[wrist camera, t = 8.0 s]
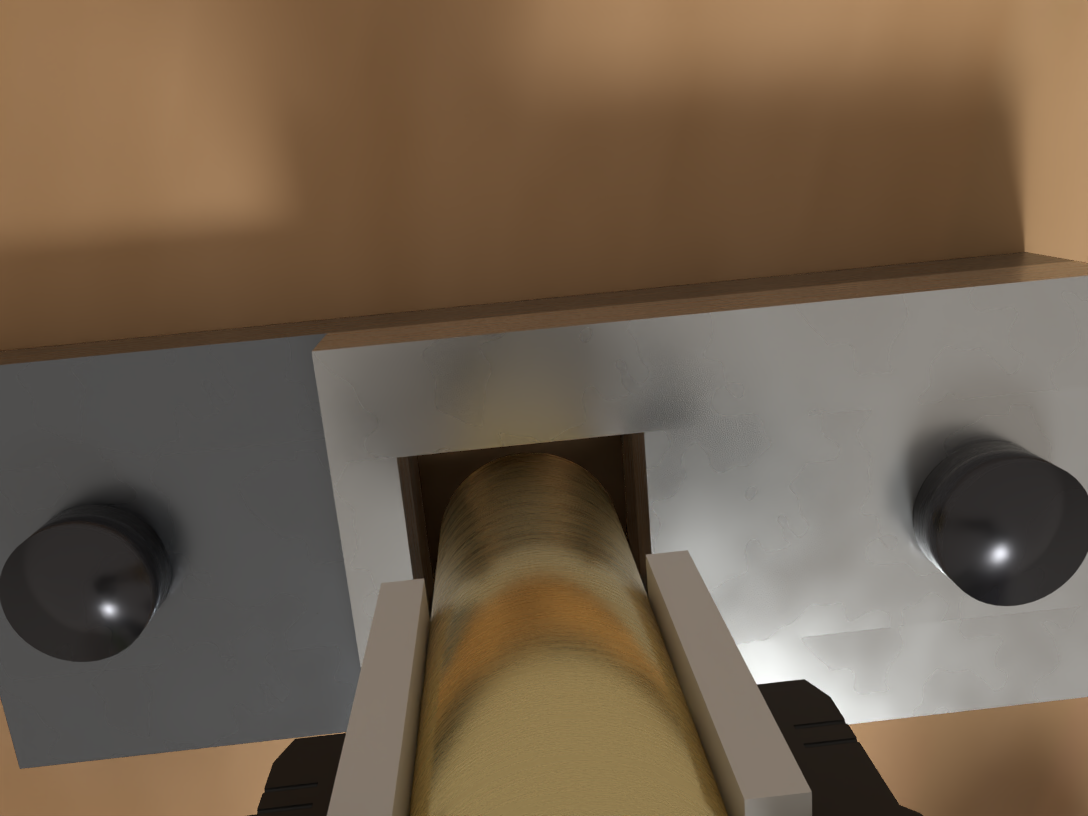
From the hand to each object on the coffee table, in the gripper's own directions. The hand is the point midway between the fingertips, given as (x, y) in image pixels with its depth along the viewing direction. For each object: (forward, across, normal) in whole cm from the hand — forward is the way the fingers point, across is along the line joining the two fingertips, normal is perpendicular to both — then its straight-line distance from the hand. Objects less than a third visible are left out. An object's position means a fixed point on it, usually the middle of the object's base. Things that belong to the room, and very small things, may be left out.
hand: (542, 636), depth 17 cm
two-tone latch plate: (+8, 0, 0) cm, 8 cm away
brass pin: (+4, 0, 0) cm, 4 cm away
